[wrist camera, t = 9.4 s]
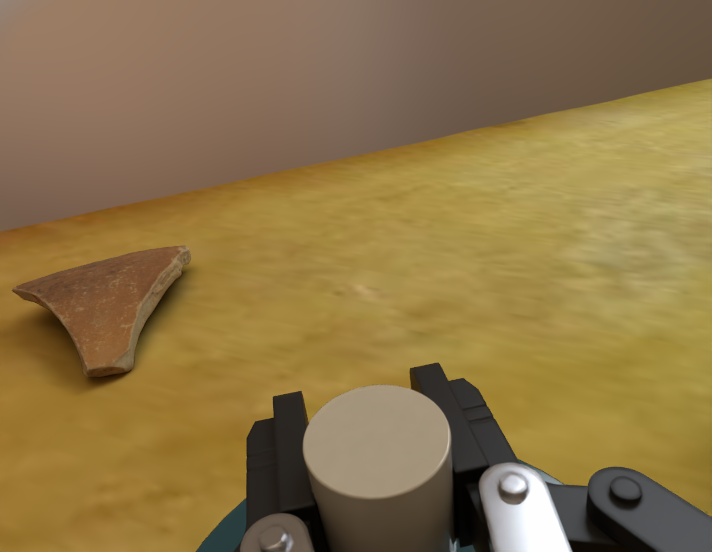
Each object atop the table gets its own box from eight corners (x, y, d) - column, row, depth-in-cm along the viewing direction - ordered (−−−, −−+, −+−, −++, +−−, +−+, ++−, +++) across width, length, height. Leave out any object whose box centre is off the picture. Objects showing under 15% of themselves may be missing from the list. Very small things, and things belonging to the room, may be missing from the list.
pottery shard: (112, 390, 27) (94, 348, 26) (-16, 354, 31) (-38, 315, 29) (239, 274, 35) (229, 237, 33) (124, 256, 38) (112, 223, 37)
